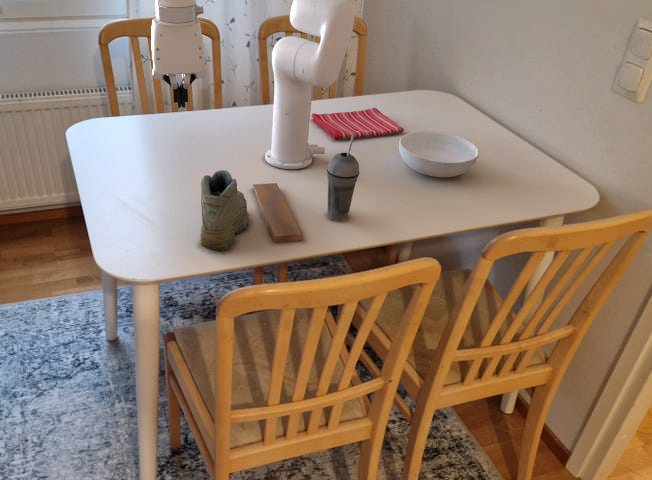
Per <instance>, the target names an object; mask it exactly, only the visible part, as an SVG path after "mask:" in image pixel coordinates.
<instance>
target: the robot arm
mask: <svg viewBox="0 0 652 480" xmlns="http://www.w3.org/2000/svg"><path fill="white" fill-rule="evenodd" d="M290 8H291V9H290V13H289V22H290V25H291V26H292V27H293V28H294V29H295V30H297V31H299V32H301V33H305V34H308V35H311V36H315V37H317V38H320V42H315V41H313V40H309V39H306V38H302V37H299V36H293V35H292V36H291V35H288V36H284V37H281V38H280V39H279V40H278V41H276V43H275V44H274V46H273V48H272V52H271V64H272V71H273V72H272V73H273V82H274V85H273V86H274V89H273V91H274V92H273V108H272V109H273V110H272V129H271V147H270V148H269V149H268V150H267V151H265V154H264V159H265V161H266V162H267V164H269V165H271V166H273V167H276V168H279V169H284V170H299V169H304V168H307V167H309V166H310V165H311V164H312V162H313V156H314V155H324V154H325V152H326V147H325V146H318V145H319V144H318V143H311V144H310V143H309V135H310V134H309V132H310V120H311V110H312V101H313V100H312V99H313V96H312V94H313V93H312V89H311V86H312V87H313V86H314V87H316V88H321V89H325V88H329V87H331V86H332V85H334V84H335V82H336V81H337V79H338V77H339V75H340V72H341V71H342V70H341V69H342V66H343V63H344V60H345V57H346V54H347V50H348V47H349V44H350V40H351V37H352V34H353V31H354V26H355V9H354V6H353V5H352V3H351V2H350V1H349V0H292V4H291V7H290ZM204 13H205V12H204V6H202V5H201V6H200V5H198V4H197V1H196V0H155V16H156V17H155V18H153V19H152V22H151V36H150V37H151V41H150V43H151V48H150V49H151V62H152V66H153V68H152V72H151V76H152V78H153V79H154V80H159V81H164V82H165V83H166V84H168V85H169V86H170V87H171V90H172V102H173V104H176V107H177V109H180V108H182V109H185V108H186V103H188V102H189V88H190V85H192V84H193V82H194V81H196V80H198V79H201V78H206V76H207V73H206V67H205V66H206V64H205V63H206V61H205V49H204V48H205V47H204V39H203V32H202V31H203V30H202V25H201V22H200V19H199V18H198V17H199V16H200V15H204ZM176 75H181V81H180V84H179V83H178V81H177V76H176Z"/></svg>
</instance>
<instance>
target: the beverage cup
mask: <svg viewBox="0 0 652 480" xmlns="http://www.w3.org/2000/svg"><path fill="white" fill-rule="evenodd" d="M354 139H355V138H354V135H352V137H351V139H350V142H349V145H348V149H347V152H339V153H336V154H335V155H334V156H332V157H331V159H330V160H329V162H328V164H327V167H326V172H327V173H326V175H327V217H328V219H329V220H331V221H333V222H345V221H346V220H348V217H349V213H350V210H351V209H350V208H351V204H352V201H353V196H354V192H355V187H356V183H358V182H357V181H358V179H359V176H360V165H359V162H358V160H357V158H356V157H355V156H354V155H352V154H351V150H352V147H353V142H354Z"/></svg>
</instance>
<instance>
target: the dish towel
mask: <svg viewBox="0 0 652 480" xmlns="http://www.w3.org/2000/svg"><path fill="white" fill-rule="evenodd" d="M311 118H312V119H311V121H312V122H313V123H315V125H317V126H318V127H319V128H320V129H322V130H323V131H324V132H325V133H326V134H327V135H328V136H329V137H330V138H331V139H332V140H334V141H338V140H348V139H350V140H351V137H352V135H354V139H360V138H368V137H377V136H378V137H379V136H388V135H394V134H398V133H399V134H400V133H403V132H404V131H405V129H404V127H402V126H400V125H399V124H398V123H396V122H395V121H393V120H392V119H390V117H388V116H386V115H385V114H384V113H382V112H381V111H380V110H379V109H378V108H377V107H372V108H368V109H362V110H353V111H343V112H342V111H341V112H331V113H312V114H311Z"/></svg>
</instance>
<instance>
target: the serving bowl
mask: <svg viewBox="0 0 652 480" xmlns="http://www.w3.org/2000/svg"><path fill="white" fill-rule="evenodd" d="M398 142H399V143H398V148H399V149H398V151H399V155H400V157H401V159H402V160H403V162H404V163H405V165H407V166H408V167H409V168H410V169H412V170H413V171H415V172H417V173H419V174H422V175H426V176H430V177H435V178H436V177H437V178H452V177H457V176H460V175H463V174H466V173H467V172H468V171H470V170H471V169H472V168H473V166H474V165H475V164H476V162H477V160H478V158H479V156H480V150H479V147H477V145H475V144H474V143H473V142H471V141H470V140H468V139H466V138H463V137H462V136H458V135H455V134H452V133H446V132H443V131H442V132H441V131H435V130H433V131H432V130H417V131H412V132H408V133H406V134H404V135H402V136H401V137H400V139H399V141H398Z"/></svg>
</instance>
